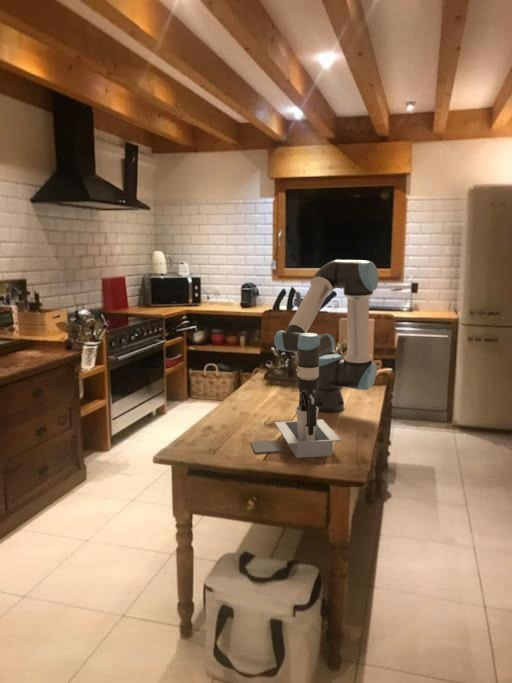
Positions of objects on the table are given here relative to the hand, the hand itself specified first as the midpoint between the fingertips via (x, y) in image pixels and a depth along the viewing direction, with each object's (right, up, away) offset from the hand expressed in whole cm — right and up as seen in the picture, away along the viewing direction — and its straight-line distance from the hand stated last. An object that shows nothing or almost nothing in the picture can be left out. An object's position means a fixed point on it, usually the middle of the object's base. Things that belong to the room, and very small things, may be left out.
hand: (306, 438), depth 200 cm
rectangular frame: (0, -2, 0) cm, 2 cm away
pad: (-14, -3, -2) cm, 15 cm away
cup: (0, -1, 0) cm, 1 cm away
